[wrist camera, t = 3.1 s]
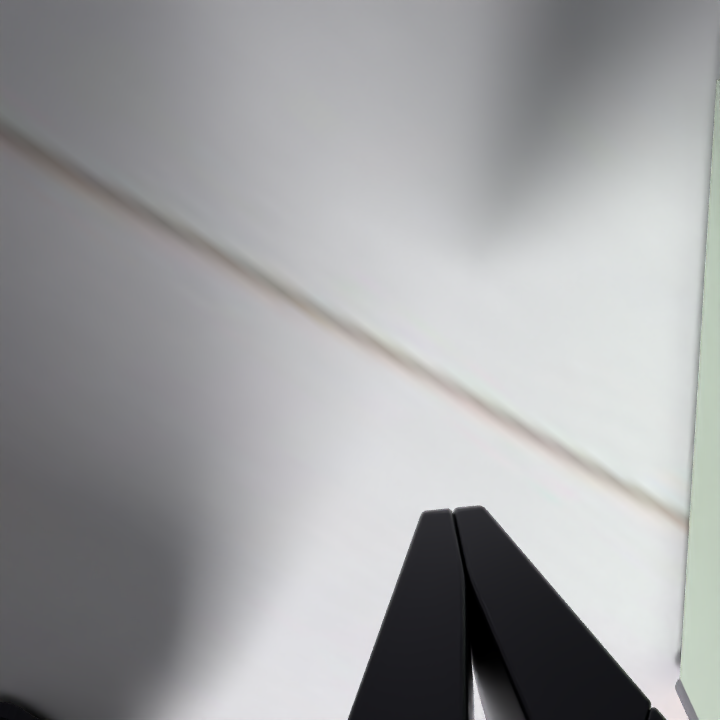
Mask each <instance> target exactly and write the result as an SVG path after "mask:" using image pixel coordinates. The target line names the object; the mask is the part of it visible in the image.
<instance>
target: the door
mask: <svg viewBox="0 0 720 720" xmlns="http://www.w3.org/2000/svg"><path fill="white" fill-rule="evenodd" d="M675 689H676V691H677V694H678V696H679V698H680V700H681V703H682V705H683V707H684V709H685V712H686V714H687V716H688V718H689V720H720V79H719V80H716V96H715V113H714V129H713V145H712V161H711V178H710V194H709V210H708V226H707V243H706V259H705V275H704V292H703V308H702V324H701V340H700V357H699V373H698V389H697V406H696V422H695V438H694V454H693V471H692V487H691V503H690V519H689V536H688V552H687V568H686V585H685V601H684V617H683V633H682V650H681V666H680V678H679V680H678V681H677V683H676V686H675Z"/></svg>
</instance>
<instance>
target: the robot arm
mask: <svg viewBox="0 0 720 720" xmlns="http://www.w3.org/2000/svg"><path fill="white" fill-rule="evenodd" d="M472 665H473V671H474V675H475V679H476V684H477V688H478V692H479V695H480V699H481V703H482V706H483V710H484V714H485V717H486V720H666V719H665V718H664V716H663V715H662V714H661V713H660V712H659V711H658V709H656V708H654V707H653V708H651V702H650V700H649V699H648V698H647V697H646V696H645V695H644V693H643V692H642V691H641V690H640V689H639V688H638V686H637V685H636V684H635V683H634V682H633V681H632V679H631V678H630V677H629V676H628V675H627V674H626V672H625V671H624V670H623V669H622V668H621V667H620V665H619V664H618V663H617V662H616V661H615V660H614V658H613V657H612V656H611V655H610V654H609V652H608V651H607V650H606V649H605V648H604V647H603V645H602V644H601V643H600V642H599V641H598V640H597V638H596V637H595V636H594V635H593V634H592V633H591V631H590V630H589V629H588V628H587V627H586V626H585V624H584V623H583V622H582V621H581V620H580V619H579V617H578V616H577V615H576V614H575V613H574V612H573V610H572V609H571V608H570V607H569V606H568V604H567V603H566V602H565V601H564V600H563V599H562V597H561V596H560V595H559V594H558V593H557V592H556V590H555V589H554V588H553V587H552V586H551V585H550V583H549V582H548V581H547V580H546V579H545V578H544V576H543V575H542V574H541V573H540V572H539V571H538V569H537V568H536V567H535V566H534V565H533V564H532V562H531V561H530V560H529V559H528V558H527V556H526V555H525V554H524V553H523V552H522V551H521V549H520V548H519V547H518V546H517V545H516V544H515V542H514V541H513V540H512V539H511V538H510V537H509V535H508V534H507V533H506V532H505V531H504V530H503V528H502V527H501V526H500V525H499V524H498V523H497V521H496V520H495V519H494V518H493V517H492V516H491V514H490V513H489V512H488V511H487V510H486V509H485V508H484V507H482V506H468V507H458V508H456V509H454V511H453V513H452V511H451V510H450V509H439V510H429V511H424V512H423V513H422V514H421V516H420V518H419V521H418V524H417V527H416V530H415V532H414V535H413V538H412V541H411V544H410V547H409V549H408V552H407V555H406V558H405V561H404V563H403V566H402V569H401V572H400V575H399V577H398V580H397V583H396V586H395V589H394V591H393V594H392V597H391V600H390V603H389V605H388V608H387V611H386V614H385V617H384V619H383V622H382V625H381V628H380V631H379V633H378V636H377V639H376V642H375V645H374V647H373V650H372V653H371V656H370V659H369V661H368V664H367V667H366V670H365V673H364V675H363V678H362V681H361V684H360V687H359V689H358V692H357V695H356V698H355V701H354V704H353V706H352V709H351V712H350V715H349V718H348V720H474V691H473V674H472ZM650 708H651V709H650ZM0 720H39V719H37V718H36V717H34V716H33V715H31V714H29V713H28V712H26V711H25V710H23V709H22V708H20V707H18V706H16V705H14V704H11V703H7V702H0Z"/></svg>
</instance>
